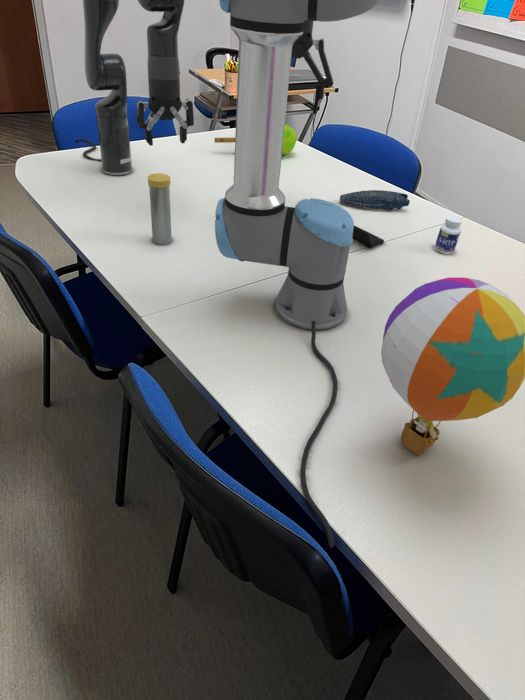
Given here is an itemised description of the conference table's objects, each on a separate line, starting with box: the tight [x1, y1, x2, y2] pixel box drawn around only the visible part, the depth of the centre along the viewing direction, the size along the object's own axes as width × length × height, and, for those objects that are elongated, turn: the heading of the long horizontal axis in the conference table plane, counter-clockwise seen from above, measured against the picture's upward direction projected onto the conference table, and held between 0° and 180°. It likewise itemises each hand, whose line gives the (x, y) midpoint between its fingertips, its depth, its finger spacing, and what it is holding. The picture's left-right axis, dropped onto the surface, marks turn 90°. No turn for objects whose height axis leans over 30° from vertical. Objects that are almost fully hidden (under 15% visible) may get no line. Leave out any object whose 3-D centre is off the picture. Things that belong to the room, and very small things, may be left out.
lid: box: [147, 172, 171, 188], centre depth 123 cm, size 5×5×2 cm
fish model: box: [339, 189, 411, 211], centre depth 158 cm, size 7×21×5 cm, turn 84°
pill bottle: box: [434, 215, 463, 255], centre depth 137 cm, size 5×5×9 cm
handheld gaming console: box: [352, 224, 385, 250], centre depth 139 cm, size 12×7×10 cm
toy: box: [380, 277, 525, 456], centre depth 75 cm, size 20×20×30 cm
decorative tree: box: [213, 123, 298, 156], centre depth 186 cm, size 18×10×30 cm
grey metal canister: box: [148, 185, 173, 246], centre depth 128 cm, size 5×5×16 cm
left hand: (166, 143), depth 136 cm, fingers open, 8 cm apart
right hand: (288, 109), depth 135 cm, fingers open, 13 cm apart
